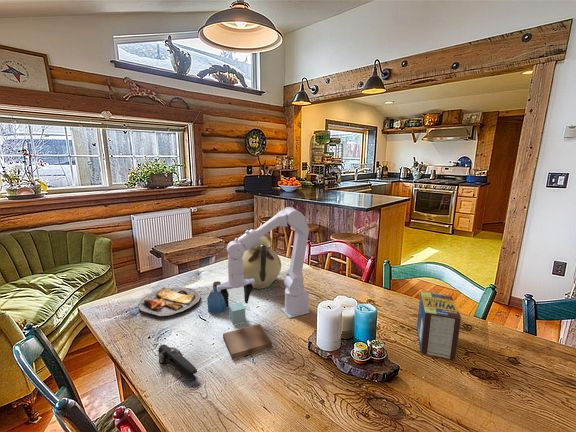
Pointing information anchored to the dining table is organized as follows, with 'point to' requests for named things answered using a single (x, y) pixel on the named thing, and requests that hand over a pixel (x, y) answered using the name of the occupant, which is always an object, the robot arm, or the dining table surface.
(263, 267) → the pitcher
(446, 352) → the protein box
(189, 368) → the can opener
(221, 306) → the perfume bottle
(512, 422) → the dining table surface
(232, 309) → the blue block
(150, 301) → the food plate
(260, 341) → the walnut block
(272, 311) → the dining table surface
